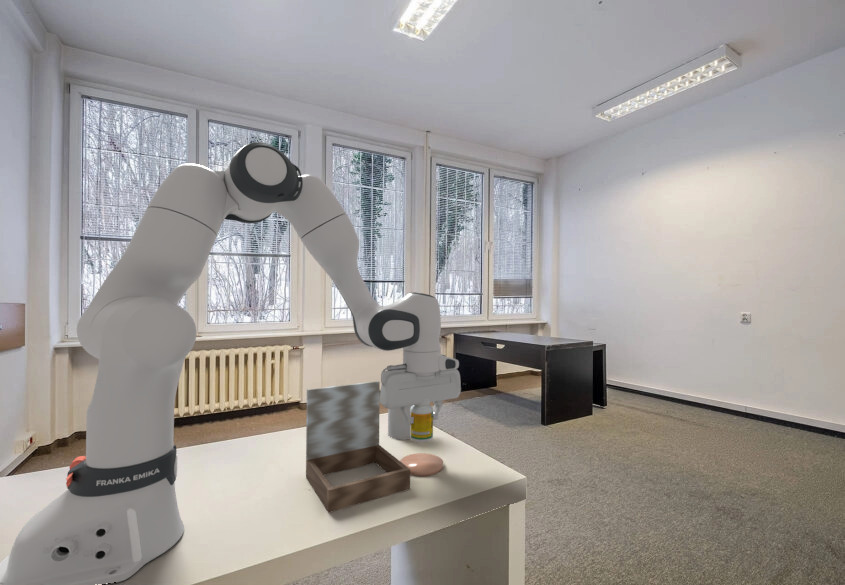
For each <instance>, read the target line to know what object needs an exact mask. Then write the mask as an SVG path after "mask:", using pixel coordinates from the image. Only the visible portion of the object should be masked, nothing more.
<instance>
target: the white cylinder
mask: <svg viewBox="0 0 845 585" xmlns="http://www.w3.org/2000/svg"><path fill="white" fill-rule="evenodd" d="M412 406H413V405H411V406H410V408H411V407H412ZM407 411H408V413H409V415H410V410H407ZM387 436H388V437H389V436H390V437H389V438H391V437H392V438H391V439H394V438H395V439H396V440H407V439H408V438H409V439H411V438H410V425H406V424H405V422H404V415H403V413H402V412H401V410H400V407H398V408H392V409H387ZM395 439H394V440H395ZM409 439H408V440H409Z"/></svg>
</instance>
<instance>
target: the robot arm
mask: <svg viewBox="0 0 845 585" xmlns="http://www.w3.org/2000/svg"><path fill="white" fill-rule="evenodd" d="M148 203H149V204H148V205H147V207H146V209H145V210H144V213H143V214H142V217H141V219H140V221H139V223H138V226H137V227H136V229H135V232H134V233H133V235H132V237H131V240H130V241H129V242H128V245H127V247H126V249H125V251H124V252H123V254H122V256H121V257H120V258H119V260H118V261H117V263H116V264H115V266H114V267H113V268H112V270H111V271H110V272H109V274H108V275H107V277H106V278H105V280H104V281H103V283H102V285H101V286H100V288H98V290H97V291H96V293H95V295H94V296H93V298H92V300H91V302H90V303H89V305H88V307H87V308H86V309H85V311H84V312H83V313H82V314H81V316H80V317H79V318H78V322H77V323H76V335H77V340H78V342H79V344H80V345H81V347H82V349H83V350H84V351H85V352H86V353H87V354H89V355H90V356H92V357H93V358H95V359H98V368H97V370H98V371H97V373H96V374H97V376H96V378H95V379H96V381H95V384H94V389H93V394H92V398H91V401H90V403H89V404H88V406H87V409H86V427H85V428H86V431H85V432H86V433H85V435H86V436H85V438H86V439H85V455H81V456H76V458H74V460H72V461H71V463H70V465H69V470H68V471H67V474H66V476H67V477H66V479H65V480H66V482H65V485H66V488H67V490H65V491H64V492H63V493H62V494H60V495H59V496H58V497H56V498H55V499H54V500H52V501H51V502H50V503H49V504H47V505H46V506H44V507H43V508H42V509H40V510H38V512H37V513H35V514H34V515H33V516H32V517H31V518H29V520H28V521H27V522H26V523H25V524H24V526H22V528H21V530H20V531H18V532H19V533H18V534H17V535H16V537H15V540H14V542H13V545H12V547H11V550H10V553H9V554H8V555H6V557H4V559H2V560H1V561H0V585H95V584H97V585H98V584H106V583H111V584H115V583H114V582H116V583H120V582H123V581H125V580H127V579H129V578H131V577H132V576H133V575H134V574H136V573H137V572H138V571H139V570H140V569H141V568H143V566H145V565H146V564H147V563H149V562H150V561H153V560H154V559H156V558H157V557H159V556H161V555H162V554H164V553H165V552H167V551H168V550H169V549H171V548H172V547H173V546H174V545H176V543H178V541H180V539H181V538H182V537H183V534H184V532H185V526H184V523H183V520H182V516H181V514H180V509H179V505H178V500H177V492H176V483H175V482H176V480H177V476H178V452H177V445H176V444H175V443H174V442H175V441H174V438H175V436H174V435H175V433H174V431H175V430H174V429H175V428H174V426H175V401H176V397H177V396H176V395H177V390H178V385H179V383H180V378H181V374H182V370H183V367H184V363H185V359H186V357H187V356H188V355H189V354H190V352H191V351H192V349H194V348H193V347H194V346H195V343H196V339H197V327H196V326H197V325H196V323H195V321H194V319H193V317H192V316H191V314H190V313H189V312H188V311H187V310H186V309H184V308H183V307H181V306H180V305H178V304H179V302H180V300H181V299H182V297H183V296H184V295H185V293H186V292H187V291H188V289H189V288H190V287H191V286H192V285H193V284H194V283H196V281H197V280H198V279H200V277H201V276H202V272H203V270H204V268H205V266H206V263H207V260H208V258H209V255H211V254H210V253H211V251H212V249H213V246H214V244H215V242H216V239H217V237H218V234H219V232H220V229H221V226H222V224H223V223H224V221H225V220H226V221H227V220H228V221H235V222H239V223H244V224H258V223H261V222H263V221H265V220H266V219H269V217H271V215H272V214H273V213H274V212H275V214H278V215H280V216H282V217H284V219H286V220H287V222H289V224H290V225H292V227H293V229H294V230H295V233H296V234H297V236H298V237H299V239H300V240H301V242H302V244H303V245H304V246H305V248H306V250H307V251H308V252H309V254H310V255H311V256H312V257H313V259H314V260H315V261H316V263H317V264H318V265H319V266H320V267H321V268H322V269H323V271H324V272H325V273H326V274H327V276H329V278H330V279H331V280H332V282H333V283H334V285H335V287H336V289H337V290H338V292H339V294H340V295H341V297H342V299H343V300H344V302H345V304H346V306H347V307H348V309H349V311H350V314H351V317H352V323H353V324H352V325H353V330H354V333H355V337H356V338H357V339H358V341H359V342H360V343H362V344H363V345H365V346H367V347H370V348H371V347H373V348H375V349H378V350H379V351H383V352H384V351H385V352H389V351H391V352H392V351H395V350H399V349H402V363H401V364H400V363H399V364H395V365H394V364H393V365H392V364H391V365H387V366H386V367H385V368H384V369H383V370H382V371H381V373H380V383H381V385H380V404H381V406H382V407H384V408H386V409H387V410H388V409H392V408H398V407H400V410H401V412H402V413H403V415H404V422H405V424H406V425H411V424H414V422H413V420H414V417H413V416H411V415H409V413H408V411H407V410H410V406H411V405H417V404H421V403H422V401H423V400H424V399H429V402H430V403H433V404H434V405H433V407H432V408H433V421H437V420H439V412H440V410H441V409H442V407H443V401H446V400H453V399H458V398H459V396H460V394H461V392H462V387H461V382H462V381H461V374H460V371H459V370H458V368H459V366H460V361H459V359H456V358H453V357H449V356H447V355H444V354H442V350H441V349H442V347H441V344H440V336H441V331H442V329H441V328H442V323H441V322H442V320H441V319H442V318H441V309H440V304H439V300H438V298H436V297H435V296H433V295H432V294H431V295H430V294H428V293H423V292H414V291H411V292H408V293H406V294H405V295H404V296H403V297H401V298H400V299H398V300H396V301H394V302H392V303H391V304H388V305H385V306H382V305H380V304H379V303H378V302H377V301H376V300H375V299H374V297H373V295H372V294H371V291H370V290H369V287H368V286H367V285H366V282H365V281H364V279H363V278H362V276H361V274H360V271H359V266H358V253H359V248H360V240H359V237H358V235H357V232H356V230H355V227H354V225H353V223H352V221H351V219H350V217H349V216H348V214H347V213H346V211H345V209H344V207H343V205H342V204H341V203H340V200H338V199H337V197H336V195H334V193H333V191H332V190H330V188H329V187H328V186H327V185H326V184H325V183H324V181H323V180H322V179H321V178H320V177H318V176H316V175H314V174H302V172H301V170H300V168H299V167H298V166H297V165H295V164H294V163H293V162H292V161H291V159H289V157H288V156H287V155H286V154H285V153H284V152H282V151H281V150H280V149H278V147H276V146H274V145H271V144H269V143H267V142H259V141H255V142H251V143H248V144H246V145H244V146H242V147H241V148H239V149H238V150H237V151H236V152H235V153H234V154H233V156H232V158H231V160H230V163H229V164H228V166H227V168H226V169H225V170H218V171H217V170H212V169H210V168H208V167H206V166H205V165H200V164H197V163H183V164H179V165H177V166H176V167H175V168H173V169H172V171H171V172H170V173H169V174H168V175H167V176H166V178H165V179H164V180H163V181H162V183H161V184H160V185H159V187H158V188H157V190H156V191H155V193H154V195H153V196H152V197H151V200H150V202H148ZM106 585H107V584H106Z"/></svg>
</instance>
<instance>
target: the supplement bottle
mask: <svg viewBox="0 0 845 585" xmlns="http://www.w3.org/2000/svg"><path fill="white" fill-rule="evenodd" d="M430 404H431V402H429V399H424V400H423V401H422V403H421V404H417V405H413V406H412V407H411V408H410V415H411V416H413V417H414V420H413V422H414V424H411V425H410V438H409V439H410V440H411V441H413V442H416V443H428V442H430V441H432V440H433V438H434V420H433V407H432V406H431V405H430Z"/></svg>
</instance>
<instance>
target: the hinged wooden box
mask: <svg viewBox="0 0 845 585" xmlns="http://www.w3.org/2000/svg"><path fill="white" fill-rule="evenodd" d="M380 383H381V381H379V380H376V381H370V382H369V381H368V382H358V383H352V384H351V383H350V384H341V385H332V386H326V387H324V386H323V387H317V388H315V387H314V388H308V389H306V421H305V422H306V424H305V426H306V429H305V430H306V434H305V439H306V440H305V443H306V444H305V445H306V446H305V447H306V449H305V460H306V461H305V478H306V480H307V481H308V483H309V484H310V486H311V488H312V489H313V490H314V492H315V494H316V496H317V497H318V500H320V502H321V503H322V505H323V506H324V508H325V509H326V511H327V513H332V512H335V511H339V510H342V509H347V508H349V507H350V508H351V507H353V506H356V505H361V504H363V503H368V502H371V501H373V500H378V499H380V498H384V497H388V496H391V495H394V494H398V493H402V492H405V491H408V490H409V491H410V490H411V475H410V469H409V468H408V467H407V466H405V465H404V464H403V463H402V462H400V461H401V460H399V459H398V458H397V457H396V456H394V455H393V454H392V453H391V452H389V451H388V450H387V449H385V448H384V447H382V446H381V445H380V404H381V403H380V391H381V385H380ZM374 464H376V465H377V466H378V467H379V468H381V470H383V471H384V472H385V473H381V474H378V475H372V476H370V477H367V478H361V479H358V480H353V481H350V482H346V483H343V484H342V483H340V484H339V485H333V486H332V484H331V483H330V482H329V481H328V479H327V478H326V477H325V476H326V475H330V474H335V473H339V472H343V471H347V470H352V469H355V468H356V469H357V468H359V467H365V466H369V465H374Z"/></svg>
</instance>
